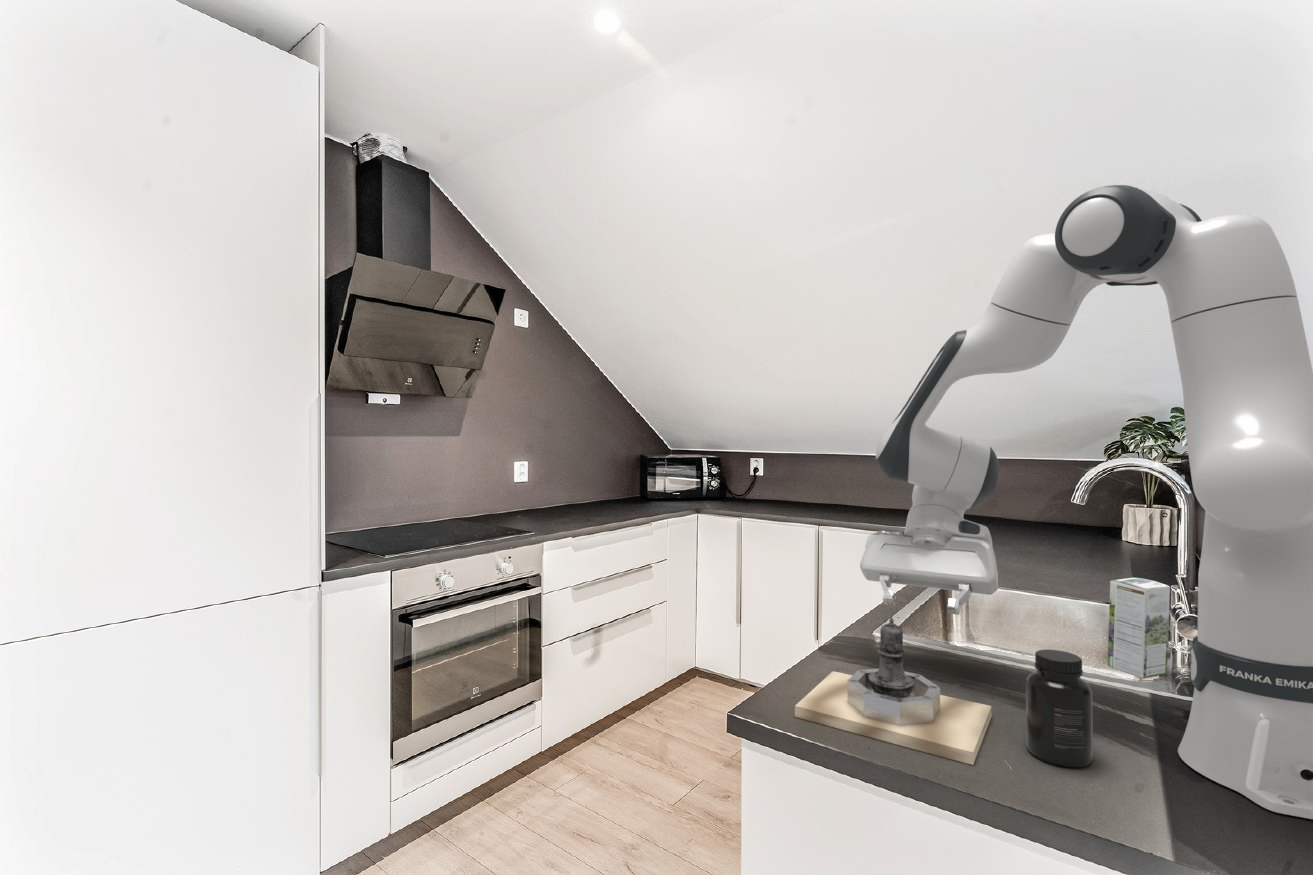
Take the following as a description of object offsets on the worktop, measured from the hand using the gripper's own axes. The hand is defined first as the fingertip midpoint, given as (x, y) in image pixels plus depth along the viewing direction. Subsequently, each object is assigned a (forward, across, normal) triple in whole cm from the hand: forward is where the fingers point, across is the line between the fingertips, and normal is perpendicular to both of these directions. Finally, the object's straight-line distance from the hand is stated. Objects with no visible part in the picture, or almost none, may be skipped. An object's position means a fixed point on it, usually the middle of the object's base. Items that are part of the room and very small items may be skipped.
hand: (919, 607), depth 99 cm
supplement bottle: (+18, +18, -1) cm, 26 cm away
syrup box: (-9, +28, +26) cm, 39 cm away
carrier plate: (+18, 0, -2) cm, 18 cm away
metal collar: (+17, 0, -3) cm, 17 cm away
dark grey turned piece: (+17, -1, -2) cm, 17 cm away
